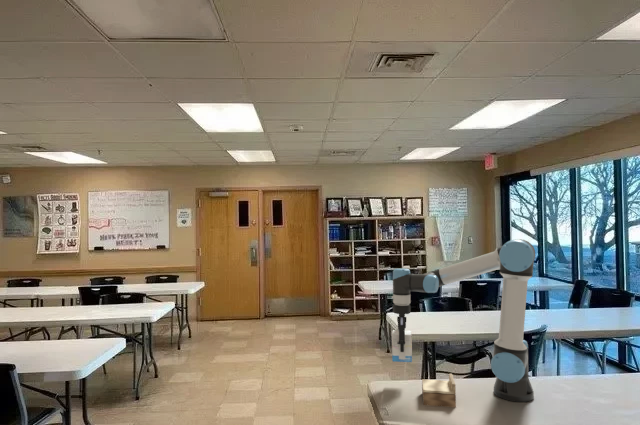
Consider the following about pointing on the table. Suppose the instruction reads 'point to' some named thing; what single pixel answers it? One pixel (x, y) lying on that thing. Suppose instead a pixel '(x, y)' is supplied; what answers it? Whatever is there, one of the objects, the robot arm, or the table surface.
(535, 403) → the table surface
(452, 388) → the lid
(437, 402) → the box
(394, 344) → the ink box
